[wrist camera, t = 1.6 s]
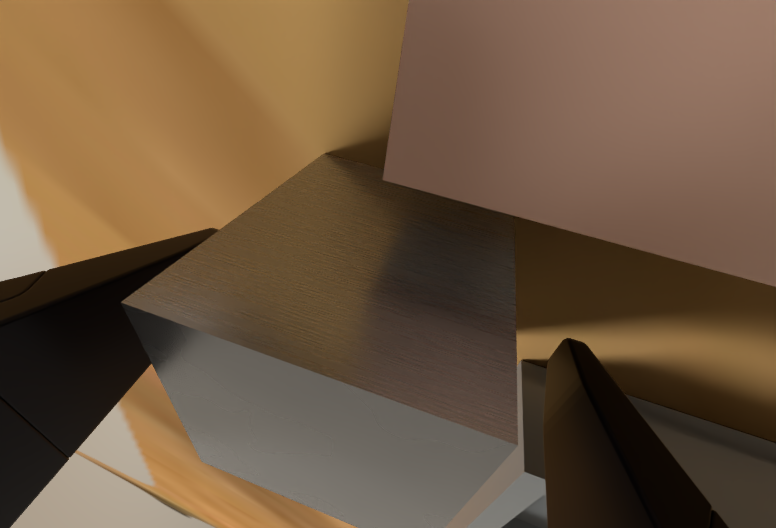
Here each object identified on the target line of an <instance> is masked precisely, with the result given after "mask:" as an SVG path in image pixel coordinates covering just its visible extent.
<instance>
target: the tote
mask: <svg viewBox="0 0 776 528" xmlns="http://www.w3.org/2000/svg"><path fill="white" fill-rule="evenodd" d="M546 374H547V369H546V368H543V367H540V366H537V365H534V364H531V363H528V362H525V361H522V360H521V361H520V363H519V364H518V366H517V410H518V446H517V447H516V449H515V450H514V451H513V452H512V453H511V454H510V455H509V456H508V457H507V459H506V460H505V461H504V462H503V463H502V464H501V465H500V466H499V468H498V469H497V470H496V471H495V472H494V473H493V474H492V475H491V477H490V478H489V479H488V480H487V481H486V482H485V483H484V484H483V485H482V487H481V488H480V489H479V490H478V491H477V492H476V493H475V494H474V496H473V497H472V498H471V499H470V500H469V501H468V502H467V503H466V505H465V506H464V507H463V508H462V509H461V510H460V511H459V512H458V513H457V515H456V516H455V517H454V518H453V519H452V520H451V521H450V522H449V524H448V525H447V526H446V527H445V528H548V525H547V505H546V484H545V463H544V442H543V415H544V402H545V388H546ZM625 395H626V394H625ZM626 396H627V397H628V399H629V400H630V401H631V402H632V404H633V405H634V406H635V408H636V409H637V410H638V411H639V413H640V414H641V415H642V417H643V418H644V419H645V420H646V422H647V423H648V424H649V425H650V427H651V428H652V429H653V431H654V432H655V433H656V434H657V436H658V437H659V438H660V440H661V441H662V442H663V443H664V445H665V446H666V447H667V449H668V450H669V451H670V452H671V454H672V455H673V456H674V458H675V459H676V460H677V461H678V463H679V464H680V465H681V467H682V468H683V469H684V470H685V472H686V473H687V474H688V476H689V477H690V478H691V479H692V481H693V482H694V483H695V485H696V486H697V487H698V488H699V490H700V491H701V492H702V493H703V495H704V496H705V497H706V499H707V500H708V501H709V502H710V504H711V505H712V510H715V511H717V513H718V514H719V515H720V516H721V518H722V519H723V520H724V521H725V523H726V524H727V525H728V527H729V528H776V443H774V442H770V441H767V440H764V439H761V438H758V437H755V436H752V435H749V434H746V433H743V432H740V431H737V430H734V429H731V428H727V427H724V426H721V425H718V424H715V423H712V422H709V421H706V420H703V419H700V418H697V417H694V416H691V415H688V414H684V413H681V412H678V411H675V410H672V409H669V408H666V407H663V406H660V405H657V404H654V403H651V402H648V401H644V400H641V399H638V398H635V397H632V396H629V395H626Z"/></svg>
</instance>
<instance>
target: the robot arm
mask: <svg viewBox="0 0 776 528" xmlns="http://www.w3.org/2000/svg"><path fill="white" fill-rule="evenodd" d="M218 231H219V230H218V229H215V228H209V229H205V230H201V231H197V232H193V233H190V234H186V235H182V236H178V237H174V238H170V239H166V240H162V241H158V242H154V243H150V244H147V245H143V246H139V247H135V248H131V249H127V250H123V251H119V252H115V253H111V254H108V255H104V256H100V257H96V258H92V259H88V260H84V261H80V262H76V263H72V264H69V265H65V266H61V267H57V268H53V269H49V270H48V271H47V272H46V271H41V272H37V273H34V274H29V275H25V276H22V277H17V278H13V279H9V280H5V281H1V282H0V528H10V527H11V526H12V525H13V523H14V522H15V521H16V520H17V519H18V518H19V516H20V515H21V514H22V513H23V512H24V511H25V509H26V508H27V507H28V506H29V505H30V504H31V503H32V501H33V500H34V499H35V498H36V497H37V496H38V494H39V493H40V492H41V491H42V490H43V489H44V487H45V486H46V485H47V484H48V483H49V482H50V481H51V479H52V478H53V477H54V476H55V475H56V474H57V473H58V471H59V470H60V469H61V468H62V467H63V466H64V464H65V463H66V462H67V461H68V460H69V457H71V456H72V455H73V453H75V451H76V450H77V449H78V448H79V447H80V446H81V444H82V443H83V442H84V441H85V440H86V439H87V438H88V436H89V435H90V434H91V433H92V432H93V431H94V429H95V428H96V427H97V426H98V425H99V424H100V422H101V421H102V420H103V419H104V418H105V417H106V416H107V414H108V413H109V412H110V411H111V410H112V409H113V407H114V406H115V405H116V404H117V403H118V402H119V401H120V399H121V398H122V397H123V396H124V395H125V394H126V392H127V391H128V390H129V389H130V388H131V387H132V386H133V384H134V383H135V382H136V381H137V380H138V379H139V377H140V376H141V375H142V374H143V373H144V372H145V370H146V369H147V368H148V367H149V366H150V365H151V364H152V363H151V361H150V359H149V357H148V355H147V353H146V351H145V349H144V347H143V345H142V343H141V341H140V339H139V337H138V335H137V333H136V331H135V329H134V328H133V326H132V324H131V322H130V320H129V318H128V316H127V314H126V312H125V310H124V308H123V306H122V304H121V302H122V301H123V300H125V299H126V298H127V297H129V296H130V295H131V294H133V293H134V292H135V291H137V290H138V289H140V288H141V287H142V286H144V285H145V284H146V283H148V282H149V281H150V280H152V279H153V278H155V277H156V276H157V275H159V274H160V273H161V272H163V271H164V270H166V269H167V268H168V267H170V266H171V265H172V264H174V263H175V262H176V261H178V260H179V259H181V258H182V257H183V256H185V255H186V254H187V253H189V252H190V251H192V250H193V249H194V248H196V247H197V246H198V245H200V244H201V243H202V242H204V241H205V240H207V239H208V238H209V237H211V236H212V235H213V234H215V233H216V232H218ZM543 442H544V463H545V484H546V505H547V525H548V528H729V527H728V525H727V524H726V523H725V521H724V520H723V519H722V518H721V516H720V515H719V514H718V513H717V511H715V510H712V505H711V504H710V502H709V501H708V500H707V499H706V497H705V496H704V495H703V493H702V492H701V491H700V490H699V488H698V487H697V486H696V485H695V483H694V482H693V481H692V479H691V478H690V477H689V476H688V474H687V473H686V472H685V470H684V469H683V468H682V467H681V465H680V464H679V463H678V461H677V460H676V459H675V458H674V456H673V455H672V454H671V452H670V451H669V450H668V449H667V447H666V446H665V445H664V443H663V442H662V441H661V440H660V438H659V437H658V436H657V434H656V433H655V432H654V431H653V429H652V428H651V427H650V425H649V424H648V423H647V422H646V420H645V419H644V418H643V417H642V415H641V414H640V413H639V411H638V410H637V409H636V408H635V406H634V405H633V404H632V402H631V401H630V400H629V399H628V397H627V396H626V395H625V393H624V392H623V391H622V390H621V388H620V387H619V386H618V384H617V383H616V382H615V381H614V379H613V378H612V377H611V375H610V374H609V373H608V372H607V370H606V369H605V368H604V366H603V365H602V364H601V363H600V361H599V360H598V359H597V357H596V356H595V355H594V354H593V352H592V351H591V350H590V349H589V347H588V346H587V345H586V344H585V343H583V342H581V341H577V340H574V339H571V338H566V339H564V340H563V341H562V342H561V343H560V345H559V346H558V347H557V349H556V350H555V351H554V353H553V354H552V356H551V357H550V359H549V361H548V364H547V374H546V388H545V402H544V415H543Z"/></svg>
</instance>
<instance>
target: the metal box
mask: <svg viewBox="0 0 776 528" xmlns="http://www.w3.org/2000/svg"><path fill="white" fill-rule="evenodd" d="M383 173H384V169H382V168H378V167H374V166H370V165H367V164H363V163H359V162H355V161H351V160H347V159H344V158H340V157H336V156H332V155H328V154H323V155H321V156H320V157H319V158H317V159H316V160H315V161H313V162H312V163H311V164H309V165H308V166H306V167H305V168H304V169H302V170H301V171H300V172H298V173H297V174H295V175H294V176H293V177H291V178H290V179H289V180H287V181H286V182H285V183H283V184H282V185H280V186H279V187H278V188H276V189H275V190H274V191H272V192H271V193H269V194H268V195H267V196H265V197H264V198H263V199H261V200H260V201H259V202H257V203H256V204H254V205H253V206H252V207H250V208H249V209H248V210H246V211H245V212H244V213H242V214H241V215H239V216H238V217H237V218H235V219H234V220H233V221H231V222H230V223H228V224H227V225H226V226H224V227H223V228H222V229H220V230H219V231H218V232H216V233H215V234H213V235H212V236H211V237H209V238H208V239H207V240H205V241H204V242H202V243H201V244H200V245H198V246H197V247H196V248H194V249H193V250H192V251H190V252H189V253H187V254H186V255H185V256H183V257H182V258H181V259H179V260H178V261H176V262H175V263H174V264H172V265H171V266H170V267H168V268H167V269H166V270H164V271H163V272H161V273H160V274H159V275H157V276H156V277H155V278H153V279H152V280H150V281H149V282H148V283H146V284H145V285H144V286H142V287H141V288H140V289H138V290H137V291H135V292H134V293H133V294H131V295H130V296H129V297H127V298H126V299H125V300H123V301H122V302H121V304H122V306H123V308H124V310H125V312H126V314H127V316H128V318H129V320H130V322H131V324H132V326H133V328H134V329H135V331H136V333H137V335H138V337H139V339H140V341H141V343H142V345H143V347H144V349H145V351H146V353H147V355H148V357H149V359H150V361H151V363H152V365H153V367H154V369H155V371H156V373H157V375H158V377H159V379H160V381H161V383H162V384H163V386H164V388H165V390H166V392H167V394H168V396H169V398H170V400H171V402H172V404H173V406H174V408H175V410H176V412H177V414H178V416H179V418H180V420H181V422H182V424H183V426H184V428H185V430H186V432H187V434H188V436H189V438H190V439H191V441H192V443H193V445H194V447H195V449H196V451H197V453H198V455H199V457H200V459H201V461H202V462H204V463H206V464H209V465H211V466H213V467H216V468H218V469H220V470H223V471H225V472H228V473H230V474H232V475H235V476H237V477H239V478H242V479H244V480H247V481H249V482H251V483H254V484H256V485H258V486H261V487H263V488H266V489H268V490H270V491H273V492H275V493H277V494H280V495H282V496H284V497H287V498H289V499H292V500H294V501H296V502H299V503H301V504H303V505H306V506H308V507H311V508H313V509H315V510H318V511H320V512H322V513H325V514H327V515H330V516H332V517H334V518H337V519H339V520H341V521H344V522H346V523H348V524H351V525H353V526H356V527H358V528H445V527H446V526H447V525H448V524H449V522H450V521H451V520H452V519H453V518H454V517H455V516H456V515H457V513H458V512H459V511H460V510H461V509H462V508H463V507H464V506H465V505H466V503H467V502H468V501H469V500H470V499H471V498H472V497H473V496H474V494H475V493H476V492H477V491H478V490H479V489H480V488H481V487H482V485H483V484H484V483H485V482H486V481H487V480H488V479H489V478H490V477H491V475H492V474H493V473H494V472H495V471H496V470H497V469H498V468H499V466H500V465H501V464H502V463H503V462H504V461H505V460H506V459H507V457H508V456H509V455H510V454H511V453H512V452H513V451H514V450H515V449H516V447H517V446H518V410H517V350H516V290H515V231H514V216H513V215H510V214H506V213H502V212H499V211H495V210H491V209H487V208H484V207H480V206H476V205H473V204H469V203H465V202H462V201H458V200H454V199H451V198H447V197H443V196H440V195H436V194H432V193H429V192H425V191H421V190H418V189H414V188H410V187H407V186H403V185H399V184H396V183H392V182H388V181H384V180H383Z"/></svg>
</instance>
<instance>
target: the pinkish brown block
mask: <svg viewBox="0 0 776 528" xmlns="http://www.w3.org/2000/svg"><path fill="white" fill-rule="evenodd" d="M383 180H384V181H388V182H392V183H396V184H399V185H403V186H407V187H410V188H414V189H418V190H421V191H425V192H429V193H432V194H436V195H440V196H443V197H447V198H451V199H454V200H458V201H462V202H465V203H469V204H473V205H476V206H480V207H484V208H487V209H491V210H495V211H499V212H502V213H506V214H510V215H513V216H517V217H521V218H524V219H528V220H532V221H535V222H539V223H543V224H546V225H550V226H554V227H557V228H561V229H565V230H568V231H572V232H576V233H579V234H583V235H587V236H590V237H594V238H598V239H601V240H605V241H609V242H613V243H616V244H620V245H624V246H627V247H631V248H635V249H638V250H642V251H646V252H649V253H653V254H657V255H660V256H664V257H668V258H671V259H675V260H679V261H682V262H686V263H690V264H693V265H697V266H701V267H704V268H708V269H712V270H716V271H719V272H723V273H727V274H730V275H734V276H738V277H741V278H745V279H749V280H752V281H756V282H760V283H763V284H767V285H771V286H774V287H776V0H409V4H408V10H407V17H406V24H405V31H404V38H403V44H402V51H401V58H400V65H399V71H398V78H397V85H396V92H395V99H394V105H393V112H392V119H391V126H390V133H389V139H388V146H387V153H386V160H385V166H384V173H383Z"/></svg>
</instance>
